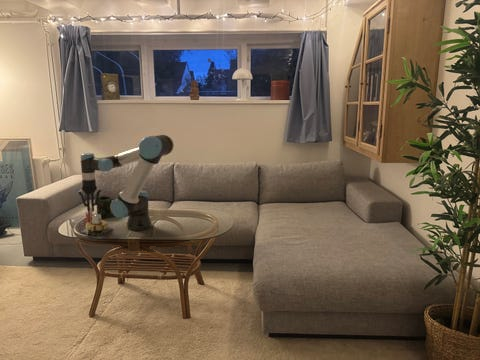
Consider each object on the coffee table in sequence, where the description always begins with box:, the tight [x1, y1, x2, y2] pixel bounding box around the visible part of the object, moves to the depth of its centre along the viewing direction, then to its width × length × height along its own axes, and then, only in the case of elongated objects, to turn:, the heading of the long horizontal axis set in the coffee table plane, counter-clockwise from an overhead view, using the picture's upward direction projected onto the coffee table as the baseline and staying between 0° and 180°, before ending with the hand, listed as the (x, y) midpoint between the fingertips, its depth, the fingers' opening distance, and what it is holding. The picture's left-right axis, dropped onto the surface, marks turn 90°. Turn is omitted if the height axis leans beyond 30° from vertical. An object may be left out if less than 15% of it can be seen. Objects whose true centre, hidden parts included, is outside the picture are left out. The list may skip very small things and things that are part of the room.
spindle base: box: [80, 213, 114, 237], centre depth 221 cm, size 13×15×10 cm
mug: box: [96, 195, 113, 218], centre depth 253 cm, size 11×15×12 cm
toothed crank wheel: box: [85, 211, 109, 231], centre depth 223 cm, size 16×12×8 cm
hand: (91, 216), depth 228 cm, fingers closed
